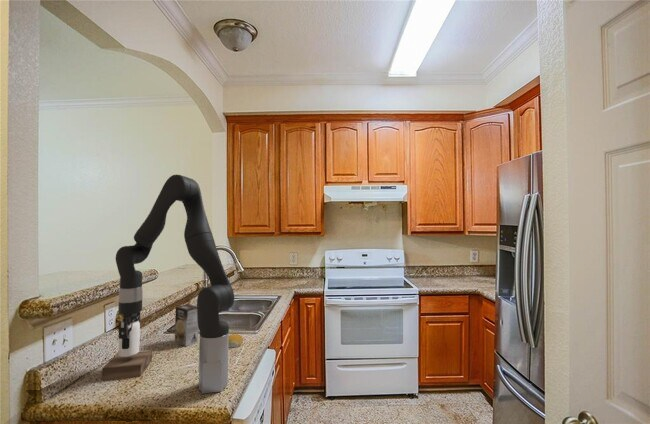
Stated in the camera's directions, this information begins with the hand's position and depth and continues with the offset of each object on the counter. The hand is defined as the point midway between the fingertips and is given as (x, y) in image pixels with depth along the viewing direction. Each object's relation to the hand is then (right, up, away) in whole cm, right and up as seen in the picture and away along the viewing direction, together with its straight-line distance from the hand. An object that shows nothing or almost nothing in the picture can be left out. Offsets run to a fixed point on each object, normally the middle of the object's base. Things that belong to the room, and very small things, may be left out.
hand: (129, 344), depth 114 cm
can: (0, -3, 0) cm, 3 cm away
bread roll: (+31, -11, +25) cm, 41 cm away
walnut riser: (0, -9, 0) cm, 9 cm away
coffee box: (+9, -10, +26) cm, 30 cm away
